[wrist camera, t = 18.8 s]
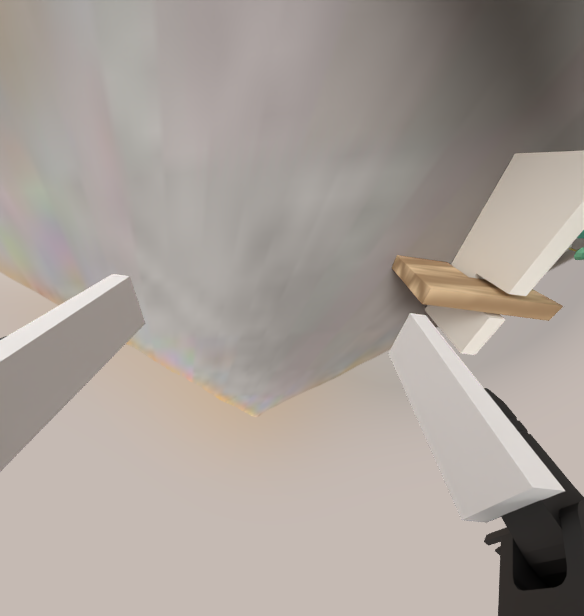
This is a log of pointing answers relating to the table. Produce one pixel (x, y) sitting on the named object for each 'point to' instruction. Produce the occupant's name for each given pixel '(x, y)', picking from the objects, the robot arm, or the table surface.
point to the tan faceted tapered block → (467, 290)
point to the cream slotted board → (517, 237)
